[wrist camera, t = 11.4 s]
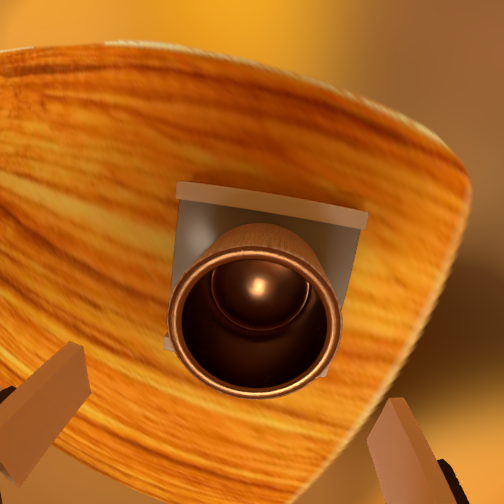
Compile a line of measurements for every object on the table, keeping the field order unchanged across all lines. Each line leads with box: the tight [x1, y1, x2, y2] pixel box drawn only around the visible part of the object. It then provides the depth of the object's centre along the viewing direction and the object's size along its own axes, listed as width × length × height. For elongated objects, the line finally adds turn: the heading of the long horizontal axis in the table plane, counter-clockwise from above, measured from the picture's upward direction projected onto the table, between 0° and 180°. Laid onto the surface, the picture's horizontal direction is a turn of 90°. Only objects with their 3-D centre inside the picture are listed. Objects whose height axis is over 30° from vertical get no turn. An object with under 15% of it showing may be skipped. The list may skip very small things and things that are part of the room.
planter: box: [167, 223, 343, 400], centre depth 22 cm, size 11×11×10 cm
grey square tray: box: [164, 181, 369, 377], centre depth 27 cm, size 16×16×3 cm
